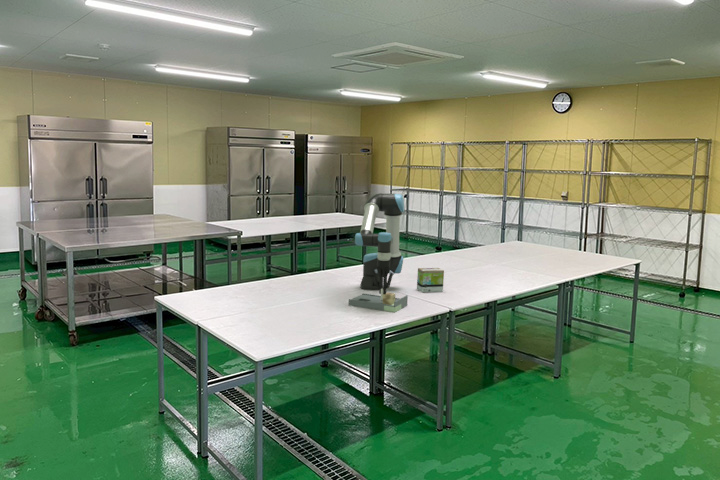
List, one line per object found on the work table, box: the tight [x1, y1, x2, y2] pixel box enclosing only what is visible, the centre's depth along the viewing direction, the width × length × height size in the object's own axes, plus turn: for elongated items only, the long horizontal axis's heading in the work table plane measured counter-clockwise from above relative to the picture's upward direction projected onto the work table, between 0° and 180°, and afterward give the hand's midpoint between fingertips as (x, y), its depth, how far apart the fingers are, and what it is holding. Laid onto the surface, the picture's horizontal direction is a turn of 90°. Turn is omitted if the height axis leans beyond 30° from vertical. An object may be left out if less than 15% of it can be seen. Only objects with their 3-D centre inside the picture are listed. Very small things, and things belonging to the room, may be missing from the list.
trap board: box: [348, 293, 409, 313], centre depth 330 cm, size 30×18×6 cm, turn 63°
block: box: [383, 292, 396, 305], centre depth 324 cm, size 6×6×6 cm
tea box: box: [416, 267, 445, 293], centre depth 370 cm, size 15×10×15 cm
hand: (382, 299), depth 324 cm, fingers closed
